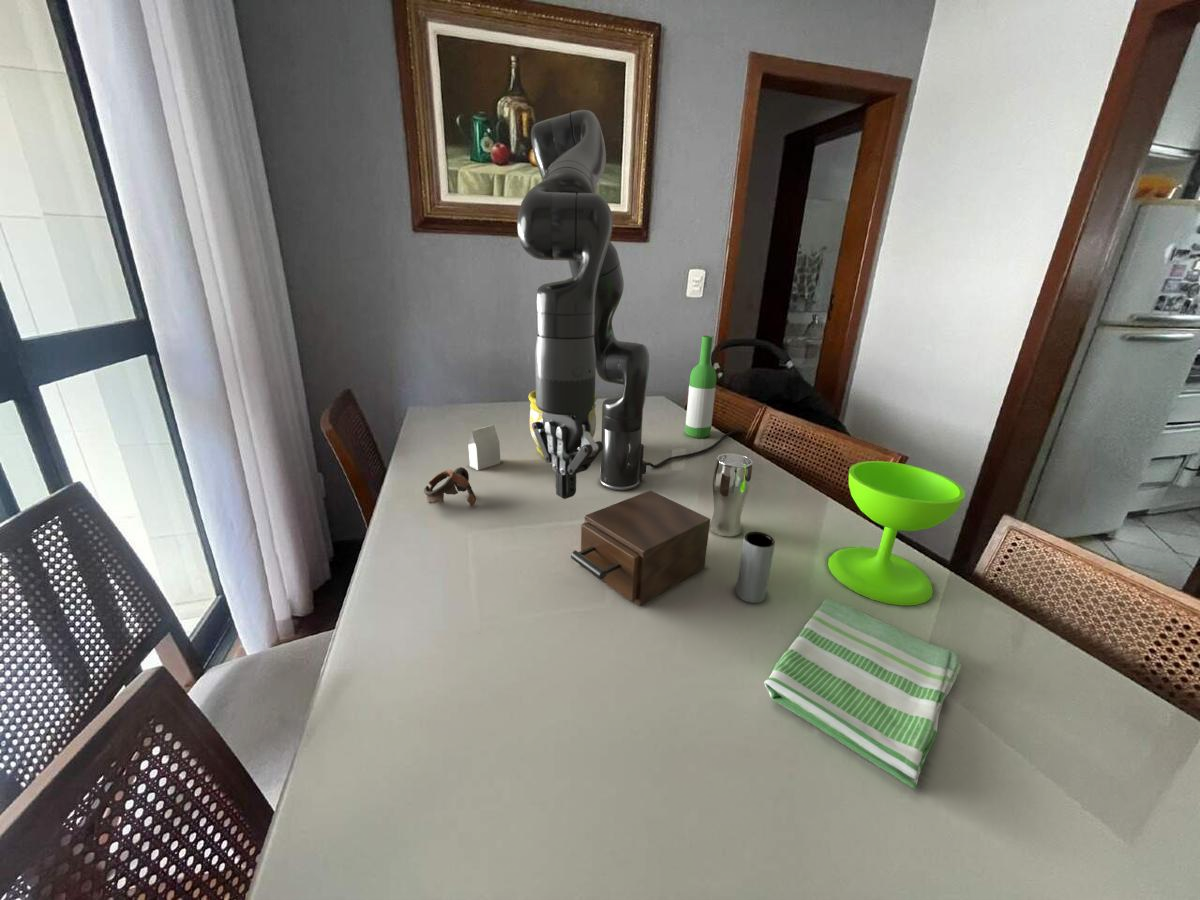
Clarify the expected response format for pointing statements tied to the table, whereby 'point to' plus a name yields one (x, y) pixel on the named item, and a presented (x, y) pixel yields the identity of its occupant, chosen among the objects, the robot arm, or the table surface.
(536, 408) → the flowerpot
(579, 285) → the robot arm
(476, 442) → the white milk carton
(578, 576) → the table surface
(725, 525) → the beer glass
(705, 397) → the wine bottle
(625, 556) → the drawer
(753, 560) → the grey cylinder
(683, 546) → the cabinet
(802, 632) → the dish towel
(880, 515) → the wineglass
